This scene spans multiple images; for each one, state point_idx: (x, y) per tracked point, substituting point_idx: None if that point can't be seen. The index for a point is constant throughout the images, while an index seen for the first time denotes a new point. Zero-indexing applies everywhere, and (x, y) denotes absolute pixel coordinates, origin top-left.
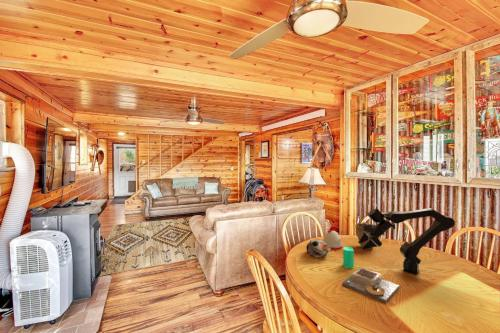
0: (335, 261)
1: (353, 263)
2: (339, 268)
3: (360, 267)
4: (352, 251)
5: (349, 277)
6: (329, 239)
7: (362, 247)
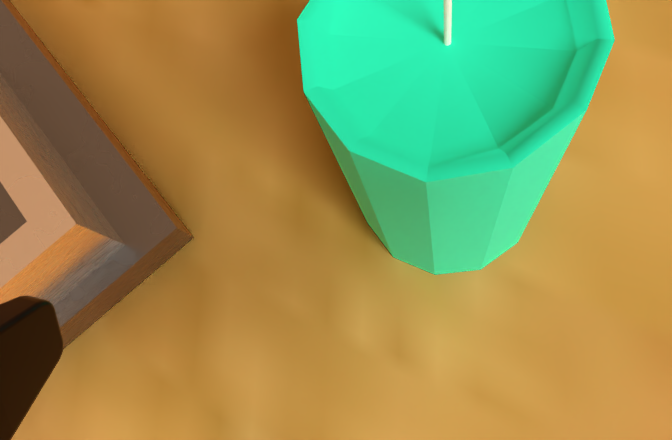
0: (619, 38)
1: (380, 233)
2: None
3: (64, 210)
4: (316, 111)
5: (28, 39)
6: None
7: (22, 303)
